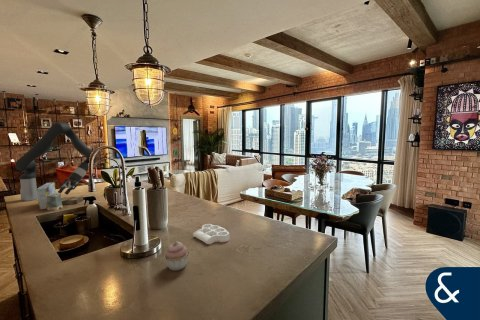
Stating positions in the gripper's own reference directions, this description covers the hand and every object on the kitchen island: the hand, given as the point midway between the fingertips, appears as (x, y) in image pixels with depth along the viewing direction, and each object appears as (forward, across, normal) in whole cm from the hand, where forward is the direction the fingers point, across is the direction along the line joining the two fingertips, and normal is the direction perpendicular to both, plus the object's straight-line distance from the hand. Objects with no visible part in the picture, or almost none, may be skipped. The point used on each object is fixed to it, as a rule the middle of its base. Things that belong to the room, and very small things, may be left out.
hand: (62, 193), depth 166 cm
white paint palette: (+7, +125, +8) cm, 125 cm away
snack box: (+9, -15, +5) cm, 18 cm away
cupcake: (+26, +127, -12) cm, 130 cm away
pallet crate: (+11, 0, +3) cm, 11 cm away
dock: (+1, -7, +13) cm, 14 cm away
